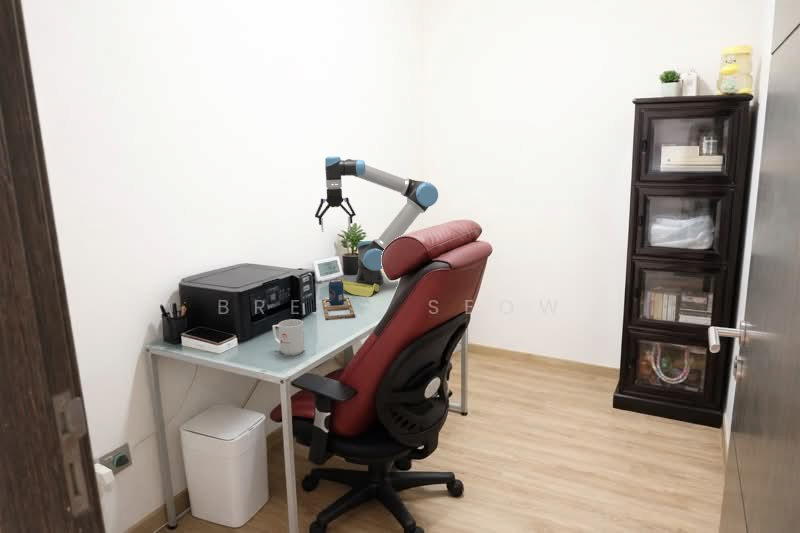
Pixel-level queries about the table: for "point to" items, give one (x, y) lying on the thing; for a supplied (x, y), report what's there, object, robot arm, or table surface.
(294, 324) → the mug
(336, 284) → the soda can
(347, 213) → the robot arm
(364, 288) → the plastic component
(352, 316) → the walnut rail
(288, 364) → the table surface
